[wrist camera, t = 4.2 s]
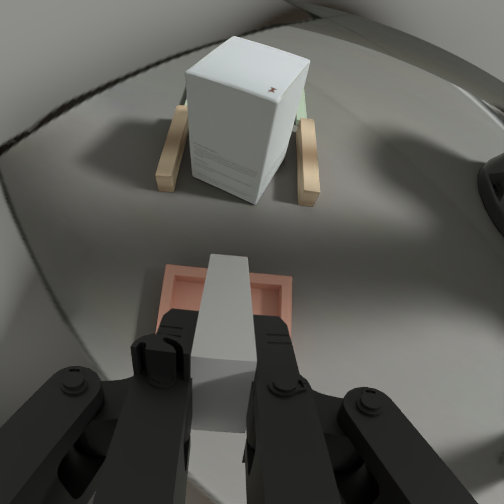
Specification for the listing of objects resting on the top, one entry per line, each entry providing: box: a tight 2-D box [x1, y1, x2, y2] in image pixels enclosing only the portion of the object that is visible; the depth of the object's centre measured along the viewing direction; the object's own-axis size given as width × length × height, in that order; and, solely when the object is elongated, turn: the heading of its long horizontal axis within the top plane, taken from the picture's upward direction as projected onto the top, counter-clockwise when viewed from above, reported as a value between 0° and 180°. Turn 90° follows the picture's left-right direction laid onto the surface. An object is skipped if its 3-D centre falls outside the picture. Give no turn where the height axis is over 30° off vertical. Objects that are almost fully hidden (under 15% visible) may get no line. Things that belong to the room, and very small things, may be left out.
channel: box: [155, 105, 320, 207], centre depth 32 cm, size 10×15×2 cm, turn 87°
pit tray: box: [156, 264, 292, 338], centre depth 25 cm, size 8×10×2 cm
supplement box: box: [185, 36, 310, 205], centre depth 27 cm, size 7×7×13 cm
